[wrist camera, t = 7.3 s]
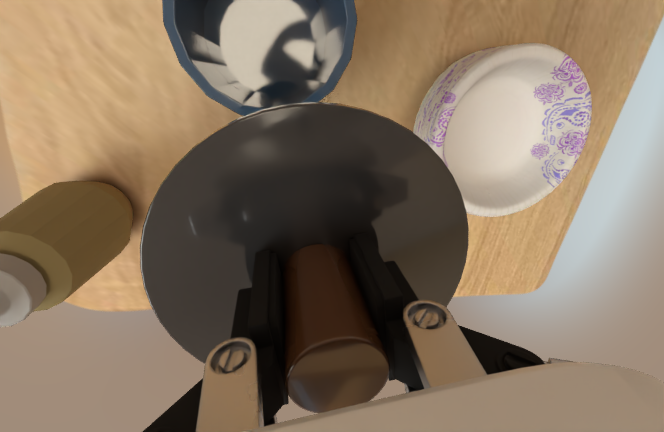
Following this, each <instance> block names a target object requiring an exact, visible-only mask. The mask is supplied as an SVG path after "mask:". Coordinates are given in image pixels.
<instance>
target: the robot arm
mask: <svg viewBox="0 0 664 432" xmlns="http://www.w3.org/2000/svg"><path fill="white" fill-rule="evenodd" d="M349 248H350V258H351V264H352V267H353V269H354V272H355V274H356V277H357V279H358V282H359V285H360V287H361V290H362V292H363V295H364V297H365V300H366V302H367V305H368V307H369V310H370V312H371V315H372V317H373V320H374V323H375V325H376V328H377V330H378V333H379V335H380V338H381V340H382V343H383V345H384V348H385V350H386V353H387V355H388V358H389V362H390V372H389V377H388V378H389V380H395V379H397V380H399V381H400V382H402V383H404V385H405V391H406V393H405V394H401V395H396V396H392V397H388V398H383V399H379V400H374V401H370V402H366V403H361V404H357V405H353V406H348V407H344V408H340V409H336V410H331V411H327V412H323V413H319V414H314V415H310V416H306V417H302V418H297V419H293V420H289V421H285V422H280V423H277V417H276V413H277V412H278V410H279V409H280V408H281V407H282V406H283V405H285V404H288V393H287V390H286V387H285V368H284V331H283V300H282V276H281V271H280V267H279V262H278V258H277V254H276V253H271V251H270V250H267V251H261V252H256V254H255V263H254V272H253V281H252V287H250V288H245V289H240V290H239V291H238V296H237V302H236V308H235V314H234V320H233V326H232V332H231V338H230V339H228V340H225V341H223V342H222V343H220V344H218V345H217V346H216V347H215V348H214V349H213V350H212V351H211V352H210V354H209V355H208V357H207V359H206V362H205V368H204V375H203V379H202V380H200V381H199V382H198V383H197V384H196V385H195V386H194V387H193V388H192V389H190V390H189V391H188V392H187V393H186V394H185V395H184V396H182V397H181V398H180V399H179V400H178V401H177V402H176V403H175V404H174V405H172V406H171V407H170V408H169V409H168V410H167V411H165V412H164V413H163V414H162V415H161V416H160V417H159V418H158V419H156V420H155V421H154V422H153V423H152V424H151V425H150V426H149V427H147V428H146V429H145V430H144V431H143V432H664V382H662V381H661V380H659V379H657V378H655V377H653V376H650V375H648V374H645V373H643V372H640V371H636V370H633V369H629V368H625V367H620V366H615V365H607V364H599V363H589V362H573V361H566V360H560V359H554V358H549V360H548V362H545V361H542V360H541V358H539V357H538V356H537V355H535V354H534V353H532V352H530V351H528V350H526V349H524V348H521V347H519V346H516V345H512V344H510V343H507V342H504V341H501V340H499V339H496V338H493V337H490V336H487V335H485V334H482V333H479V332H476V331H473V330H470V329H468V328H465V327H462V326H459V325H457V323H456V321H455V320H454V318H453V316H452V315H451V313H450V312H449V311H448V309H447V308H446V307H445V306H443V305H442V304H440V303H438V302H435V301H432V300H419V299H418V297H417V296H416V294H415V292H414V291H413V289H412V288H411V286H410V284H409V283H408V281H407V280H406V278H405V276H404V275H403V273H402V272H401V270H400V268H399V267H398V265H397V264H396V262H395V261H387V262H384V261H383V259H382V257H381V256H380V254H379V252H378V250H377V249H376V247H375V245H374V243H373V242H372V240H371V238H370V236H369V234H368V233H362V234H356V235H353V239H349Z"/></svg>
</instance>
